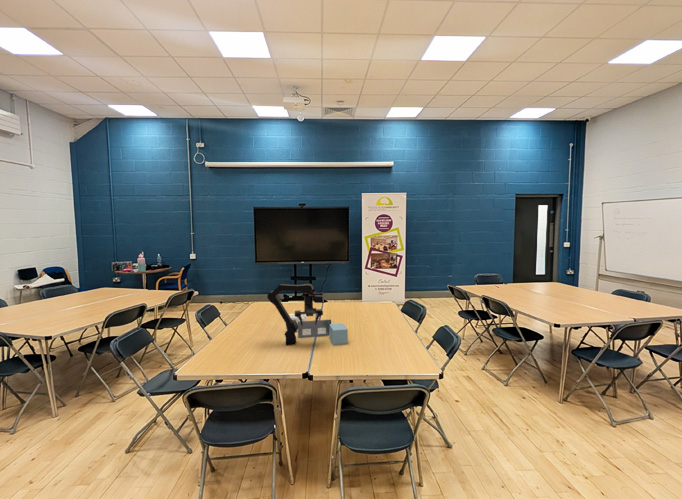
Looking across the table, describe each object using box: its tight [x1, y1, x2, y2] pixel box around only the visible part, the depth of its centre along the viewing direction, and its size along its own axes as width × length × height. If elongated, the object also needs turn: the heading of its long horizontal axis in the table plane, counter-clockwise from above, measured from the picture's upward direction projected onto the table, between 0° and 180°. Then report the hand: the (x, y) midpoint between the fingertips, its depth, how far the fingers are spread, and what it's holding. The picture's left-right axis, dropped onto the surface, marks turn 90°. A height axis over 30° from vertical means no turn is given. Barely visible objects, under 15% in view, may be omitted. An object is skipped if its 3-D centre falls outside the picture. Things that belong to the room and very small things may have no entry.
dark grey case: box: [297, 318, 332, 339], centre depth 219 cm, size 30×25×12 cm
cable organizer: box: [285, 313, 308, 333], centre depth 242 cm, size 15×11×12 cm
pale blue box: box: [328, 322, 349, 346], centre depth 216 cm, size 10×14×10 cm
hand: (308, 325), depth 211 cm, fingers open, 9 cm apart
